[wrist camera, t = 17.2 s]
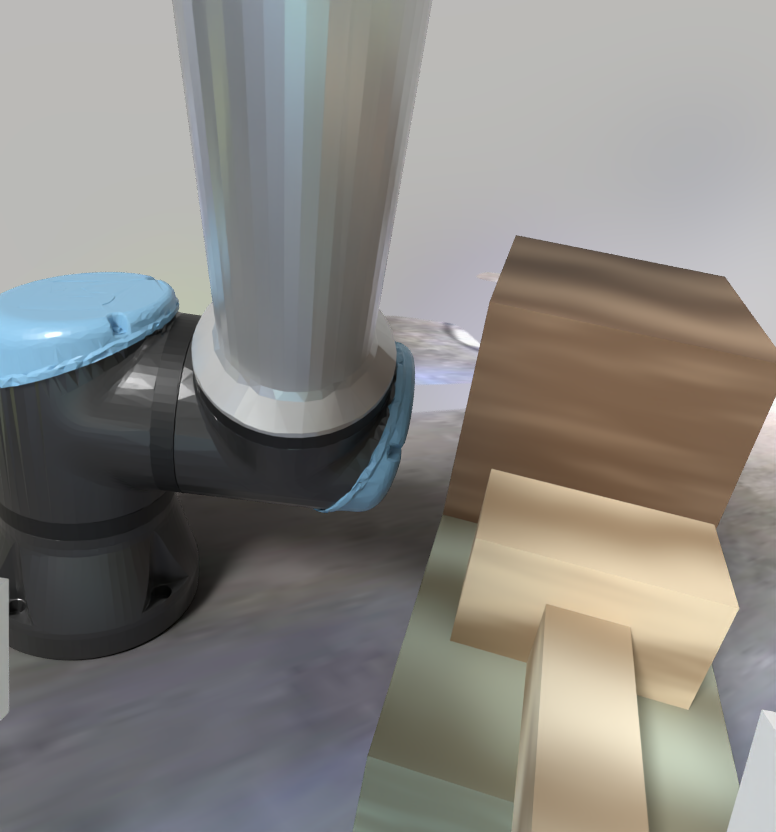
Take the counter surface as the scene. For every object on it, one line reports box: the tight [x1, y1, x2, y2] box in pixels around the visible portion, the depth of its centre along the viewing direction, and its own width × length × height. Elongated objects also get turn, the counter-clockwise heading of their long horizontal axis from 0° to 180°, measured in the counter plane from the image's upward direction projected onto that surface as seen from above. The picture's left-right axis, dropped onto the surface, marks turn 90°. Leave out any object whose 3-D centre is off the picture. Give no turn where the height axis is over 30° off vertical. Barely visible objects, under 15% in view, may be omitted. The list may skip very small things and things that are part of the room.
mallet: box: [450, 469, 739, 832], centre depth 21 cm, size 21×9×5 cm, turn 166°
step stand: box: [353, 235, 776, 832], centre depth 35 cm, size 28×12×30 cm, turn 166°
